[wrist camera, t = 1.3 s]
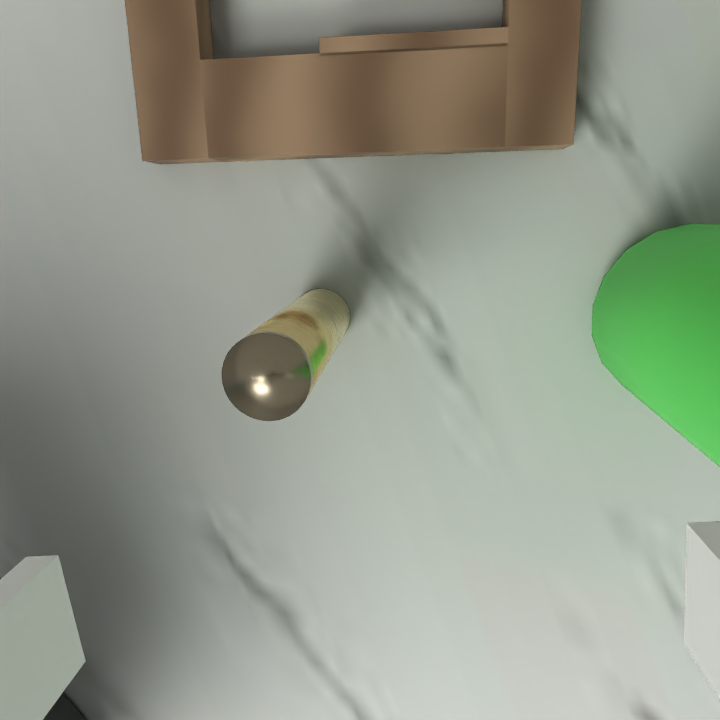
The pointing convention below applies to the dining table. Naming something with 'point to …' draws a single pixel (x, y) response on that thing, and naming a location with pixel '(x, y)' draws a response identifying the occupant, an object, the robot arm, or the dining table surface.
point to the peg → (285, 356)
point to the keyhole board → (355, 89)
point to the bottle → (667, 328)
